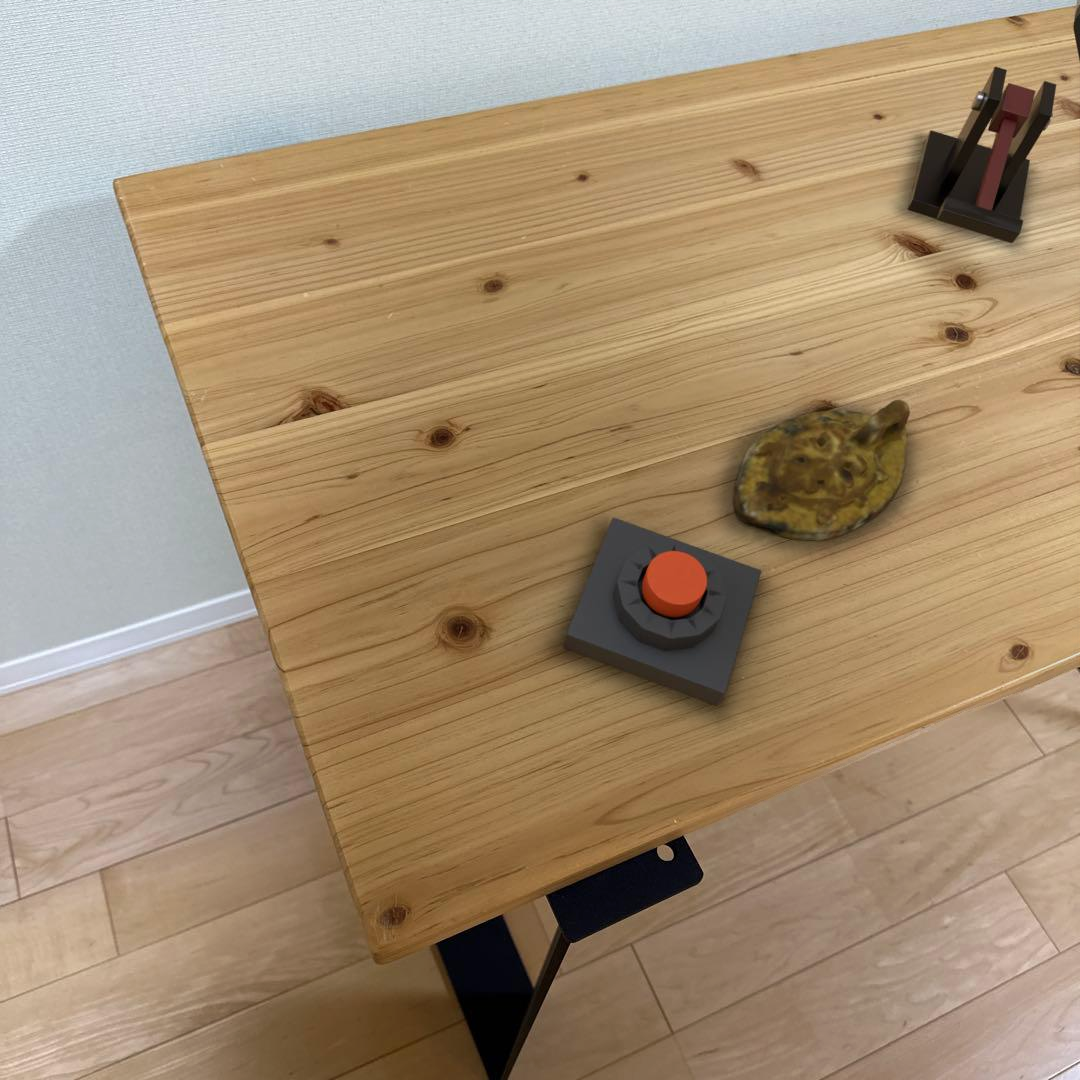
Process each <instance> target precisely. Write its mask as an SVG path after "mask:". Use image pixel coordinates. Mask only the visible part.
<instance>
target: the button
mask: <svg viewBox="0 0 1080 1080" xmlns="http://www.w3.org/2000/svg"><path fill="white" fill-rule="evenodd" d="M706 587H707V576H706V573H705V570H704V568H703V566H702V565H701V564H700V563H699V561H697V560H696V559H695V558H694V557H692V556H691V555H689V554H686V553H683V552H679V551H668V552H664V553H661V554H659V555H658V556H656V557H655V558H654V559H653V560H652V561H651V562H650V564H649V566H648V568H647V571H646V574H645V576H644V579H643V582H642V593H643V597H644V599H645V601H646V602H647V604H648V605H649V606H650V607H651V608H652V609H653V610H654V611H655V612H657V613H659V614H661V615H664V616H667V617H682V616H685V615H687V614H689V613H691V612H692V611H693V610H695V608H696V607H697V606H698V604H699V602H700V600H701V598H702V596H703V594H704V592H705V590H706Z"/></svg>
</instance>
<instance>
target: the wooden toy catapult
mask: <svg viewBox="0 0 1080 1080" xmlns="http://www.w3.org/2000/svg"><path fill="white" fill-rule="evenodd" d="M1007 73H1008V70H1007V68H1006V69H1005V68H1002V67H998V66H994V67H993V69H992V71H991V73H990V75H989V76H988V79H987V80H986V82H985V84H984V87H983V88H982V90H978V91H977V92H976V94H975V96H974V98H973V101H972V103H971V106H970V109H971V111H970V113H969V115H968V117H967V119H966V120H965V123H964V124H963V126H962V128H961V130H960V132H959V134H958V135H957V137H955V136H952V135H948V134H945V133H942V132H939V131H935V130H929V133H928V134H927V136H926V138H925V140H924V144H923V148H922V152H921V155H920V159H919V163H918V168H917V171H916V175H915V179H914V183H913V186H912V190H911V194H910V198H909V201H908V207H907V211H910V212H914V213H917V214H919V215H923V216H926V217H928V218H929V217H930V218H933V219H936V220H937V217H938V214H939V211H940V207H941V206H942V204H943V202H944V201H945V199H946V198H947V197H949V198H953V199H956V200H959V201H962V202H965V203H969V204H972V205H975V204H976V201H977V197H978V194H979V190H980V187H981V184H982V180H983V177H984V173H985V170H986V167H987V163H988V160H989V156H990V153H991V150H992V147H988V146H985V145H982V144H979V142H980V140H981V138H982V136H983V134H984V133H985V131H986V129H987V127H988V126H989V124H990V121H991V118H992V116H993V114H994V113H995V111H996V109H997V107H998V105H999V103H1000V102H1001V97H1002V93H1003V91H1004V87H1005V83H1006V77H1007ZM1056 91H1057V84H1056V83H1053V82H1050V81H1046V80H1044V81H1043V82H1042V84H1041V86H1040V87H1039V89H1038V90H1037V92H1036V93H1035V95H1034V99H1033V102H1032V106H1031V109H1030V113H1029V116H1028V118H1027V120H1026V122H1025V123H1024V125H1023V126H1022V128H1021V129H1020V131H1019V132H1018V134H1017V135H1016V137H1015V138H1012V141H1011V145H1010V148H1009V152H1008V155H1007V159H1006V162H1005V166H1004V169H1003V173H1002V176H1001V180H1000V183H999V187H998V190H997V194H996V197H995V201H994V204H993V208H992V211H995V212H998V213H1001V214H1004V215H1008V216H1011V217H1014V218H1017V219H1021V216H1022V211H1023V205H1024V200H1025V199H1024V198H1025V194H1026V187H1027V180H1028V174H1029V168H1030V162H1031V160H1030V159H1028V156H1029V154H1030V153H1031V151H1032V150H1033V148H1034V146H1035V145H1036V144H1037V142H1038V140H1039V138H1040V137H1041V134H1042V133H1043V132H1045V131H1046V130H1047V129H1048V127H1049V126H1050V124H1051V121H1052V119H1053V115H1054V112H1053V109H1054V103H1055V97H1056Z"/></svg>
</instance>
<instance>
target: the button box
mask: <svg viewBox="0 0 1080 1080" xmlns="http://www.w3.org/2000/svg"><path fill="white" fill-rule="evenodd" d="M668 551H679V552H683V553H686V554H689V555H691V556H692V557H694V558H695V559H696V560H697V561H699V563H700V564H701V565H702V566H703V568H704V570H705V573H706V576H707V587H706V590H705V592H704V594H703V596H702V598H701V600H700V602H699V604H698V606H697V607H696V608H695V610H693V611H692V612H691V613H689V614H687V615H685V616H682V617H667V616H664V615H661V614H659V613H657V612H655V611H654V610H653V609H652V608H651V607H650V606H649V605H648V604H647V602H646V601H645V599H644V597H643V593H642V582H643V579H644V576H645V574H646V571H647V568H648V566H649V564H650V562H651V561H652V560H653V559H654V558H655V557H656V556H658V555H659V554H661V553H664V552H668ZM761 575H762V570H761V569H759V568H756V567H753V566H750V565H747V564H744V563H742V562H739V561H736V560H734V559H731V558H728V557H726V556H722V555H720V554H717V553H714V552H711V551H709V550H706V549H703V548H701V547H697V546H694V545H692V544H689V543H686V542H684V541H680V540H678V539H676V538H672V537H669V536H667V535H664V534H661V533H659V532H656V531H653V530H650V529H647V528H644V527H641V526H639V525H636V524H633V523H631V522H628V521H625V520H622V519H619V518H618V517H612V518H611V520H610V523H609V525H608V528H607V530H606V533H605V536H604V538H603V541H602V543H601V545H600V547H599V551H598V553H597V556H596V558H595V560H594V563H593V566H592V568H591V570H590V573H589V577H588V578H587V580H586V583H585V586H584V589H583V591H582V592H581V593H582V594H581V595H580V599H579V600H578V603H577V606H576V607H575V611H574V613H573V616H572V618H571V621H570V622H569V623H570V624H569V626H568V629H567V631H566V633H565V637H564V641H563V644H562V648H563V649H565V650H566V651H569V652H572V653H575V654H577V655H580V656H583V657H585V658H588V659H591V660H592V661H596V662H598V663H602V664H603V665H606V666H608V667H612V668H614V669H617V670H620V671H622V672H625V673H628V674H630V675H633V676H635V677H638V678H641V679H643V680H646V681H649V682H651V683H655V684H656V685H660V686H662V687H665V688H667V689H671V690H673V691H675V692H678V693H681V694H684V695H686V696H688V697H692V698H694V699H697V700H699V701H702V702H703V703H704V702H705V703H707V704H710V705H713V706H715V707H718V706H719V704H721V701H722V700H723V698H724V697H725V696H726V694H727V691H728V687H729V683H730V681H731V678H732V674H733V671H734V666H735V663H736V660H737V656H738V653H739V650H740V647H741V643H742V639H743V636H744V633H745V630H746V625H747V622H748V619H749V615H750V612H751V609H752V605H753V602H754V598H755V596H756V595H755V594H756V592H757V587H758V585H759V581H760V578H761Z"/></svg>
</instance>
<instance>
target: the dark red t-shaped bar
mask: <svg viewBox="0 0 1080 1080" xmlns="http://www.w3.org/2000/svg"><path fill="white" fill-rule="evenodd" d="M1035 96H1036V90H1035V89H1032V88H1028V87H1024V86H1021V85H1018V84H1014V83H1011V82H1008V83H1007V85H1006V86H1005V88H1004V89H1003V92H1002V97H1001V102H1000V103H999V105H998V107H997V109H996V111H995V113H994V114H993V116H992V118H991V120H990V122H989V124H988V130H987V131H989V132H992V133H995V137H994V139H993V143H992V145H991V148H992V150H991V153H990V156H989V160H988V163H987V167H986V170H985V173H984V177H983V180H982V184H981V187H980V190H979V194H978V197H977V201H976V204H975V205H972V204H969V203H965V202H962V201H959V200H956V199H953V198H949V197H947V198H946V199H945V201H944V202H943V204H942V206H941V207H940V211H939V214H938V217H937V219H936V220H937V221H939V222H942V223H944V224H949V225H951V226H955V227H958V228H961V229H964V230H967V231H970V232H973V233H976V234H981V235H984V236H987V237H990V238H994V239H996V240H999V241H1003V242H1005V243H1009V244H1013V243H1015V242H1016V240H1017V238H1018V237H1019V235H1020V234H1021V232H1022V228H1023V224H1024V220H1023V219H1021V218H1020V219H1017V218H1014V217H1011V216H1008V215H1004V214H1001V213H998V212H995V211H992V208H993V204H994V201H995V197H996V194H997V190H998V187H999V183H1000V180H1001V176H1002V173H1003V169H1004V166H1005V162H1006V159H1007V155H1008V152H1009V148H1010V145H1011V141H1012V138H1015V137H1016V135H1017V134H1018V132H1019V131H1020V129H1021V128H1022V126H1023V125H1024V123H1025V122H1026V120H1027V118H1028V116H1029V113H1030V109H1031V106H1032V102H1033V100H1034V98H1035Z"/></svg>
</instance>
